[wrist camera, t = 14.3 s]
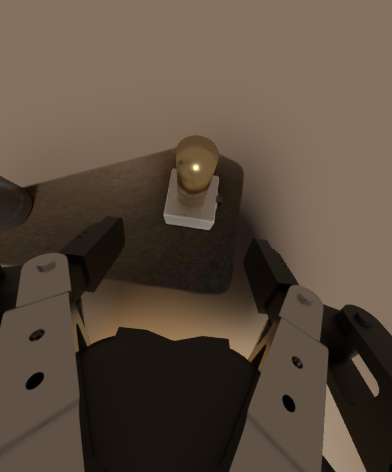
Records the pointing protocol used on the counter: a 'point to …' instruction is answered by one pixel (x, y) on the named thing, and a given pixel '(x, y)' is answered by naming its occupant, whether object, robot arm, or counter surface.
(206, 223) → the white latched box
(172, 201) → the box lid
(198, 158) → the disc
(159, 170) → the counter surface
